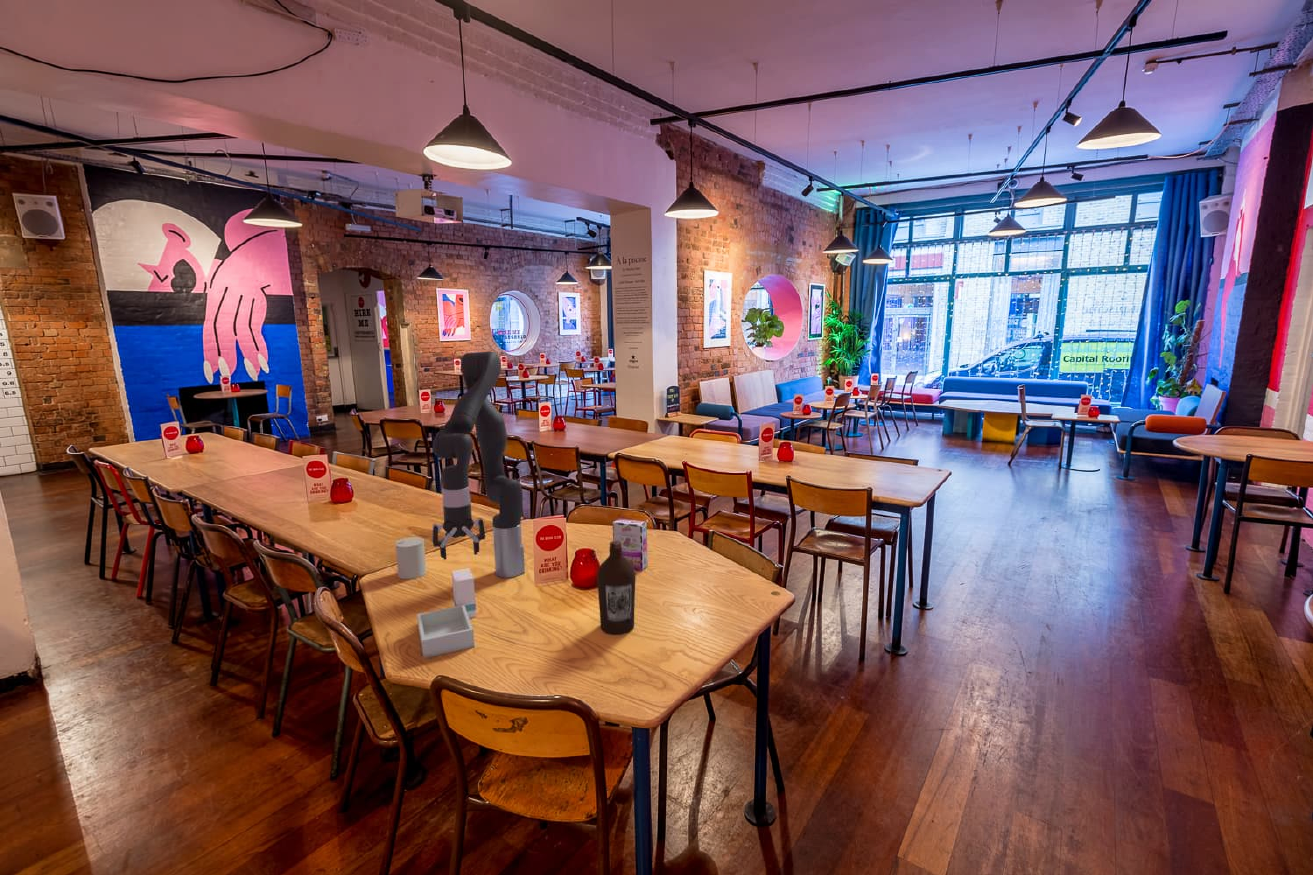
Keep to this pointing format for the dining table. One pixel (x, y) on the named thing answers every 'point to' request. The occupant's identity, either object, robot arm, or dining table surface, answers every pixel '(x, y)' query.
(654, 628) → the dining table surface
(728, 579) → the dining table surface
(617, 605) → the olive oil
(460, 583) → the carton
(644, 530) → the candy bar box
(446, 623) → the tray
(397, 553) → the can
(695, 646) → the dining table surface
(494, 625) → the dining table surface
